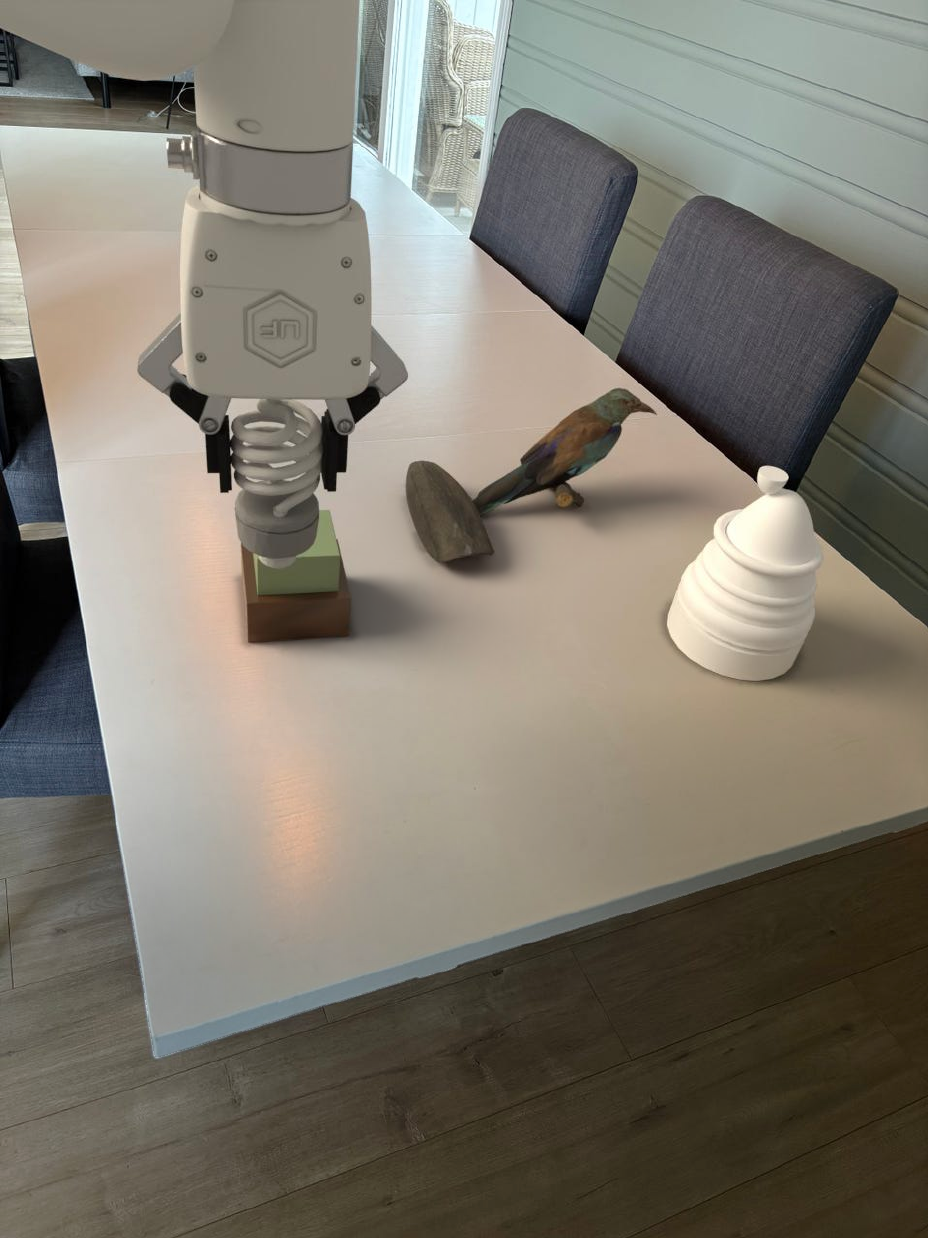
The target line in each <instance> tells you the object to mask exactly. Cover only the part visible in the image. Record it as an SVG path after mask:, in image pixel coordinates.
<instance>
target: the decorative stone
mask: <svg viewBox="0 0 928 1238" xmlns="http://www.w3.org/2000/svg"><path fill="white" fill-rule="evenodd" d="M405 495H406V503H407V507H408V511H409V513H410V518H411V520H412V523H413V525H414V528H415V531H416V533H417V536H418V538H419V540H420V542H421V544H422V545H423V548H424V549H425V551H426V553H427V554H429V556H430V557H431V558H432V559H433V560H434V561H435V562H437V563H448V562H452V561H455V560H458V559H463V558H465V557H470V556H481V555H482V556H483V555H485V556H494V555H495V550H494V546H493V544H492V541H491V538H490V536H489V533H488V530H487V529H486V526H485V523H484V521H483V519H482V517H481V515H479V512H478V510H477V508H476V506H475V504H474V502H473V499H472V498H471V496H470V495H469V493H468V492H467V491H466V489H465V488H463V486H462V485H461V484H460V482H459V481H458V480H457V479H455V478H454V477H453V475H451V474H450V473H449V472H448V471H446V470H445V469H444V468H442V466H440V465H439V464H437V463H435V462H434V461H429V460H417V461H411V463H410V464H409V465H408V468H407V471H406V477H405Z"/></svg>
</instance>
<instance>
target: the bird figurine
mask: <svg viewBox="0 0 928 1238" xmlns="http://www.w3.org/2000/svg"><path fill="white" fill-rule="evenodd" d="M633 413H634V414H635V413H650V414H654V415H655V416H658V414H657V412H656V411H655V410H654V408H652V407H651V406H649V404H646V403H645V402H642V401H641V399H640V398H639V397H637V396H636V395H635V394H633V393H632V392H631V391H629V389H627V388H621V387H617V388H613V389H611V390H609V391H608V392H606V393H605V394H603V395H601V396H599V397H598V398H597V399H595V400H594V401H592V402H590V403H588V404H586V405H584V406H583V405H582V406H581V407H580V408H578V409H575V410H574V411H572V412H571V413H570V414H569V415H567V416H566V417H564V418H563V419H561V420H560V421H559V423H558V424H557V425H556V426H554V427H553V428H552V429H551V430H550V431H549V432H547V433H546V434H545V435H543V437H541V438H540V439H539V440H538V441H537V442H536V443H535V444H533V445H532V446H531V447H530V448H529V449H528V450H527V451H526V452H525V453H524V454H523V455H522V456H521V457H520V459H519V461H520V465H519V466H518V467H516V468H514V469H513V470H511V471H509V472H508V473H506V474H505V475H503V476H502V477H500V478H498V479H496V480H494V481H493V482H492V483H490V484H488V485H486V487H484V488H483V489H481V490H480V491H479V492H478V494H477V496H476V497H475V498H474V499H472V501H473V502H474V504H475V506H476V508H477V510H478V512H479V515H480V516H484V515H485V514H487V513H489V512H491V511H492V510H494V509H497V508H498V507H500V506H502V505H505V504H508V503H509V504H510V503H511V502H514V501H516V500H518V499H521V498H524V497H526V496H530V495H533V494H536V493H539V492H542V491H544V490H551V491H552V492H553V494H554V496H555V500H556V504H557V505H558V506H559V507H562V508H566V507H569V506H570V505H571V504H573V505H575V506H576V508H581V507H583V506H584V504H585V498H584V497H583V496H582V495H581V493H580V492H576V490H574V489H573V488H572V486H571V484H569V483H568V482H569V480H571V479H573V478H574V477H575V478H576V477H578V476H580V475H582V474H584V473H586V472H587V471H589V470H590V469H591V468H593V467H594V466H595V465H597V464H598V463H599V462H601V461H602V460H604V459H605V458H607V456H608V455H609V453H610V452H611V451H612V450H613V448H614V447H615V446H616V444H617V443H618V441H619V439H620V437H621V434H622V430H623V427H622V424H623V423H624V422H625V421H626V419H627V418H628V417H629V416H630V415H632V414H633Z"/></svg>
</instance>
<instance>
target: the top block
mask: <svg viewBox="0 0 928 1238" xmlns="http://www.w3.org/2000/svg"><path fill="white" fill-rule="evenodd" d="M336 539H337V537H336V531H335V526H334V522H333V517H332V514H331V510H330V509H319V522H318V529H317V536H316V539H315V542H314V544H313V545H312V546H311V547H310V548H309V550H307V551H305V552H304V553H302V554H299V555H297V556H296V560H295V561H294V562H293V564H291V565H290V566H287V567H285V568H280V569H276V568H272V567H268V566H266V565H265V564H263V563H262V562H261V561H260V559H259V555H257V554H255V553H253V558H254V567H255V576H256V585H257V593H258V595H275V594H295V593H315V592H334V591H338V588H339V567H340V553H339V549H338V544H337V540H336Z"/></svg>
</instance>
